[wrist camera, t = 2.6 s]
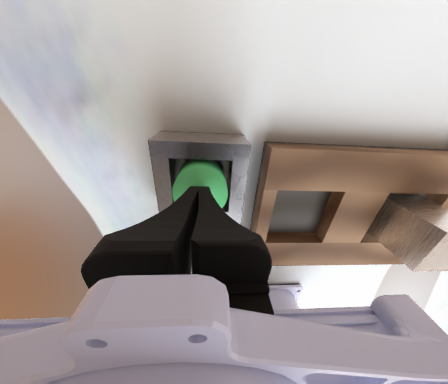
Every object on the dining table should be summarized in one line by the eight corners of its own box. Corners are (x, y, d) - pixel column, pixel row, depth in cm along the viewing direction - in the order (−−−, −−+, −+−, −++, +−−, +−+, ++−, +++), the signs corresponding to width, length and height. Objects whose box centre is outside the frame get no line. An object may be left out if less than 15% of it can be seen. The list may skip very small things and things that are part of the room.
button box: (236, 202, 18) (240, 223, 15) (169, 201, 18) (160, 222, 15) (243, 135, 15) (251, 144, 12) (161, 131, 14) (147, 140, 11)
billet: (395, 226, 21) (457, 270, 16) (361, 226, 20) (412, 271, 15) (418, 194, 19) (499, 233, 13) (380, 193, 18) (447, 232, 13)
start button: (224, 198, 16) (226, 217, 14) (180, 198, 16) (174, 216, 13) (226, 157, 14) (229, 169, 12) (177, 155, 14) (169, 168, 11)
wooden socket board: (388, 250, 24) (403, 264, 22) (246, 251, 22) (249, 266, 20) (461, 150, 17) (493, 157, 15) (264, 141, 15) (272, 148, 14)
